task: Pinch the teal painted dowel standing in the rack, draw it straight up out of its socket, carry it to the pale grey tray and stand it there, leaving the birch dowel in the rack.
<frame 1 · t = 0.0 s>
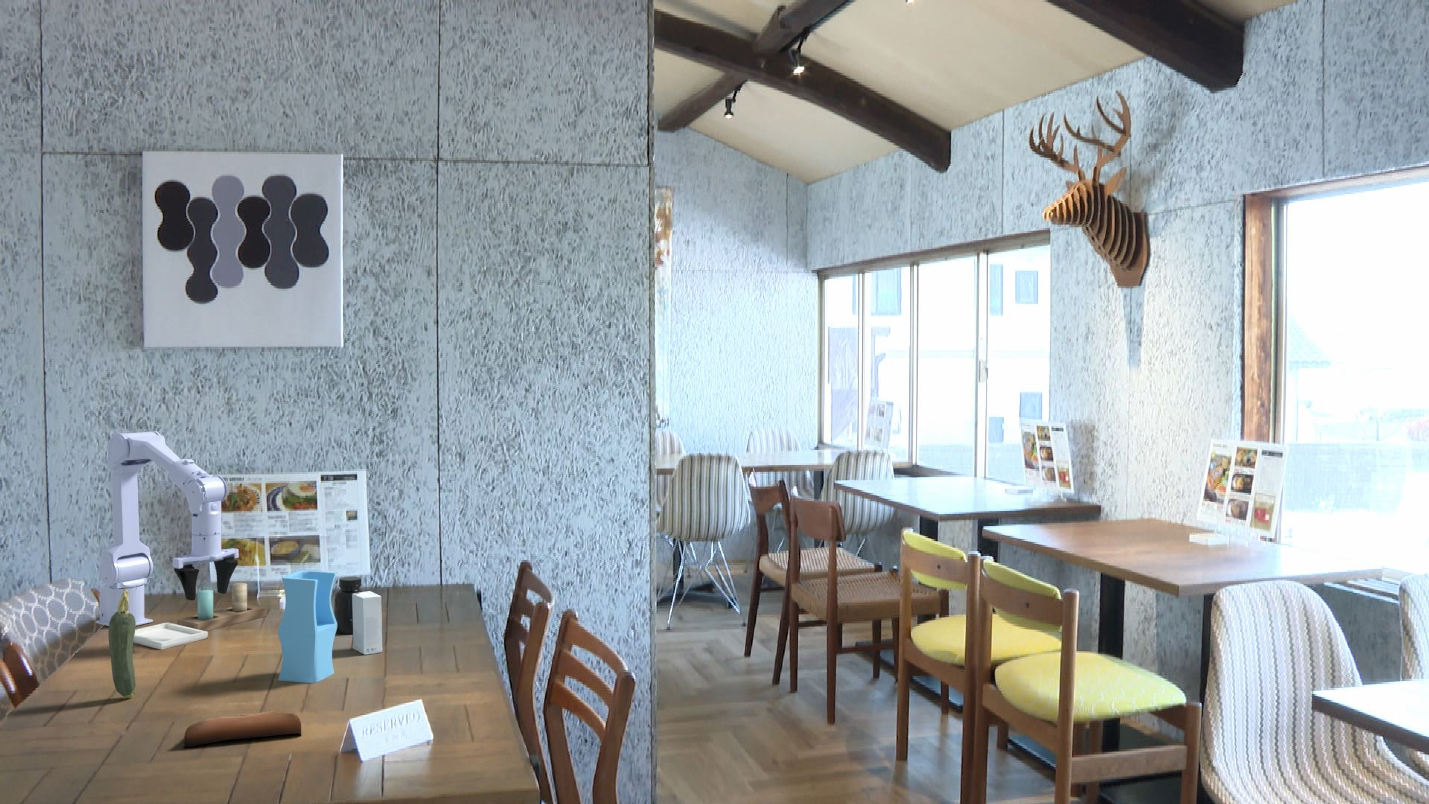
hand: (206, 596, 243), 10 cm above the table, tool pointing down, fingers open, 7 cm apart
birch dowel: (239, 618, 265), resting in rack
vegetable: (122, 700, 206), on the table
teal dowel: (205, 626, 257), resting in rack
sunglasses case: (243, 738, 190), on the table
rack: (222, 622, 261), on the table
vase: (307, 677, 222), on the table
skincare box: (366, 651, 241), on the table
tray: (164, 638, 246), on the table
supplement bottle: (349, 631, 256), on the table
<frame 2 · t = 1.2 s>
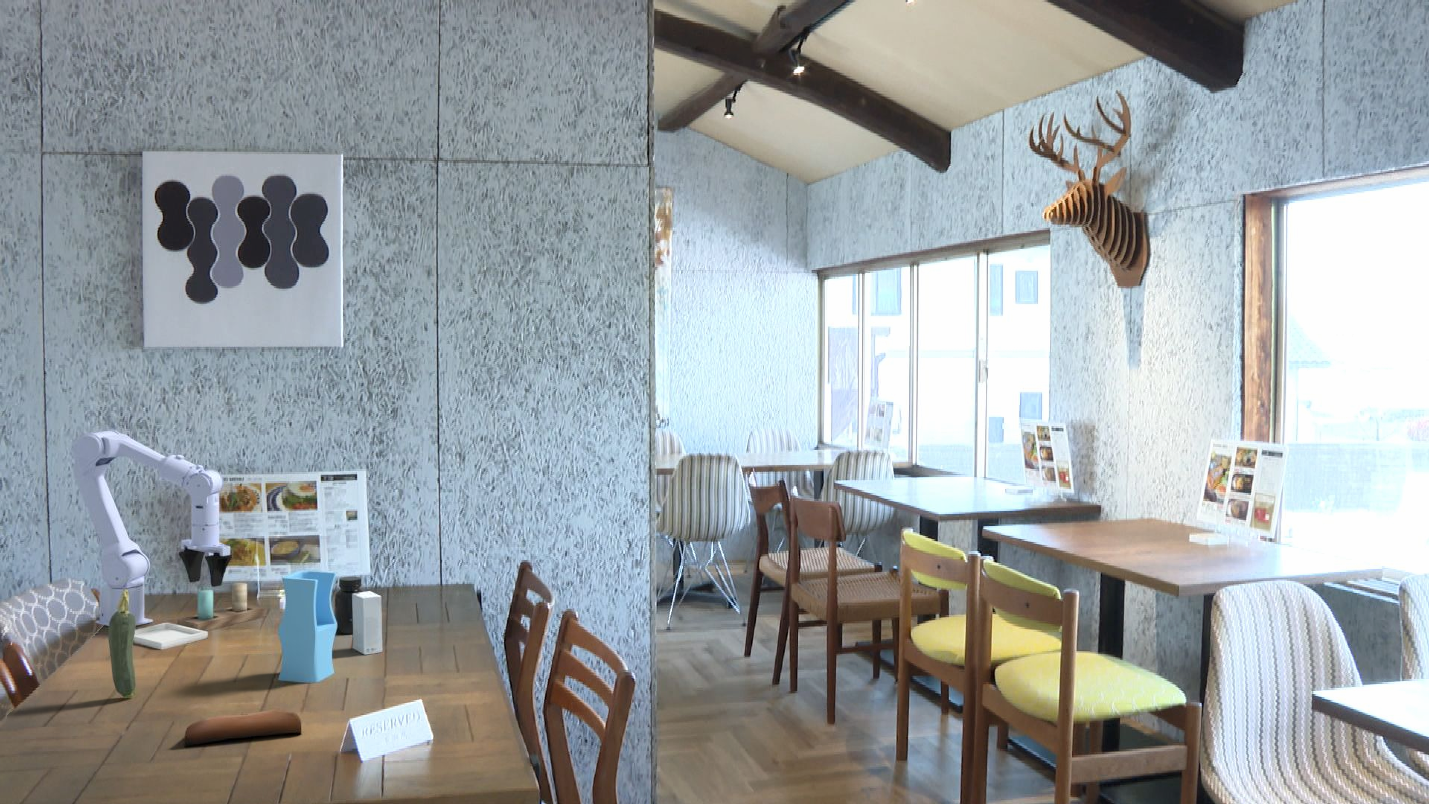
hand: (205, 583, 256), 10 cm above the table, tool pointing down, fingers open, 7 cm apart
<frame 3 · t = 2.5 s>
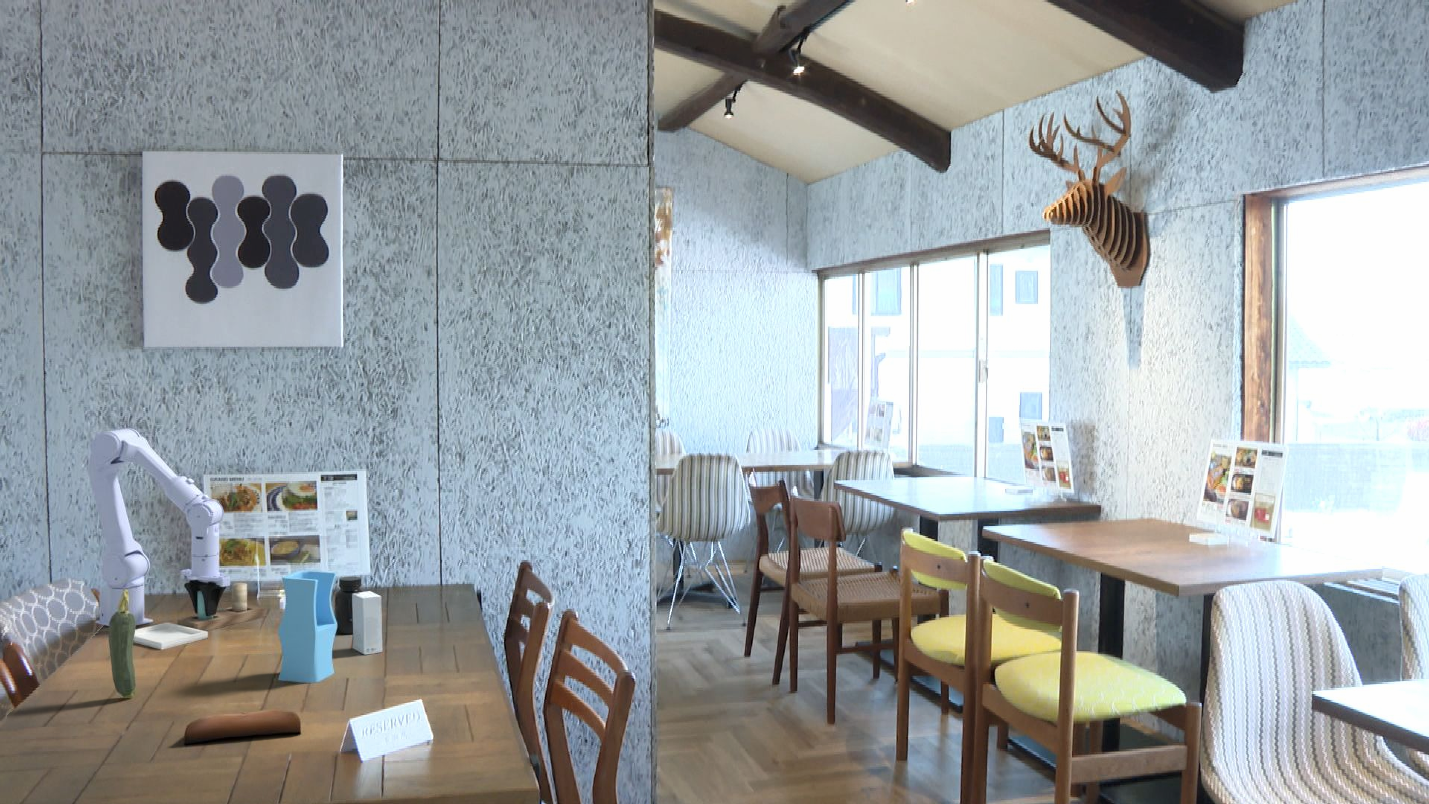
hand: (205, 614, 257), 3 cm above the table, tool pointing down, fingers closed on teal dowel, 3 cm apart
teal dowel: (205, 626, 257), resting in rack, touching gripper
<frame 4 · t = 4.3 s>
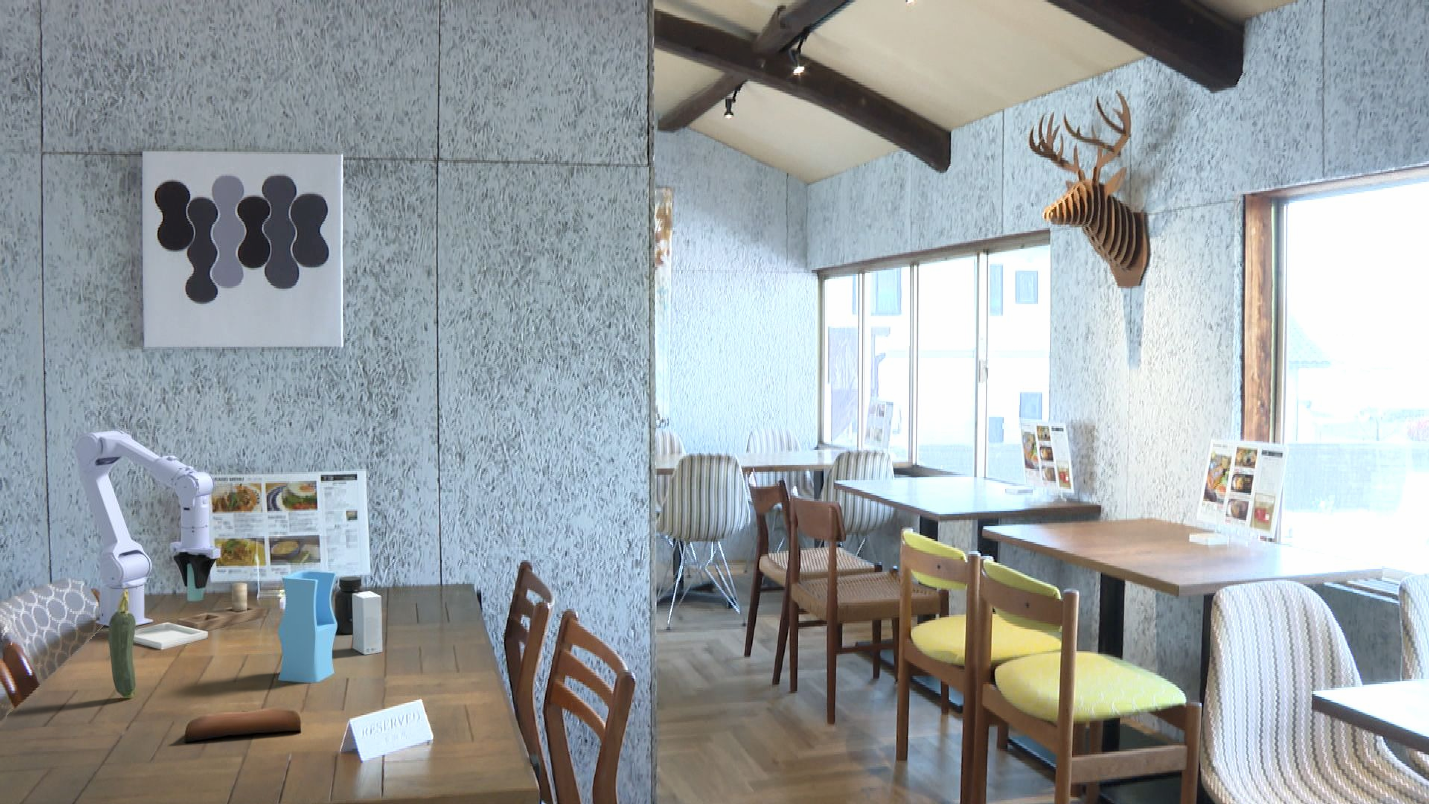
hand: (195, 586, 253), 10 cm above the table, tool pointing down, fingers closed on teal dowel, 3 cm apart
teal dowel: (195, 599, 253), point 7 cm above the table, touching gripper
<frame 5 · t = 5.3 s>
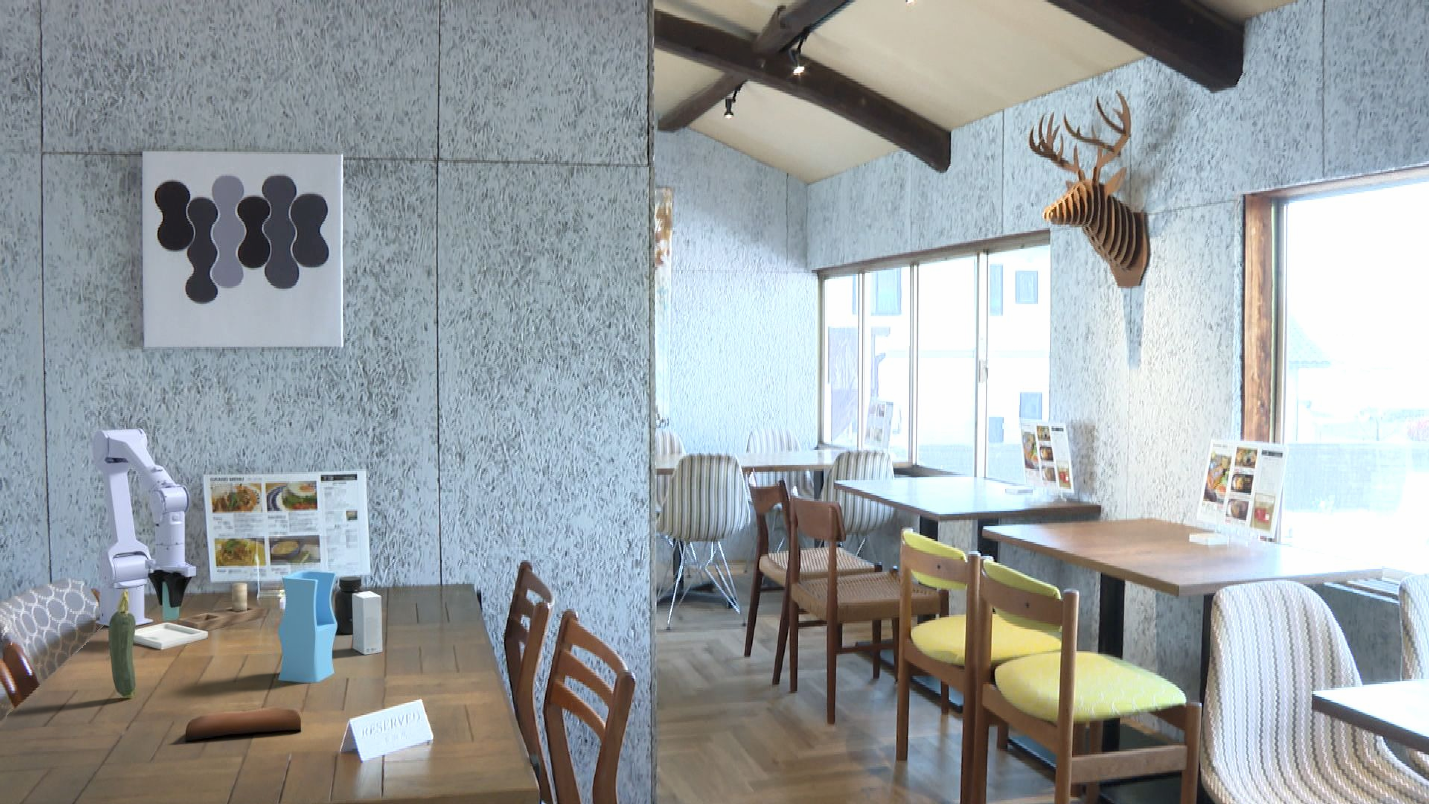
hand: (170, 605, 244), 8 cm above the table, tool pointing down, fingers closed on teal dowel, 3 cm apart
teal dowel: (170, 618, 245), point 5 cm above the table, touching gripper
when the fingers open (4 cm above the table, at t = 6.2 s): teal dowel stays where it is, resting on tray.
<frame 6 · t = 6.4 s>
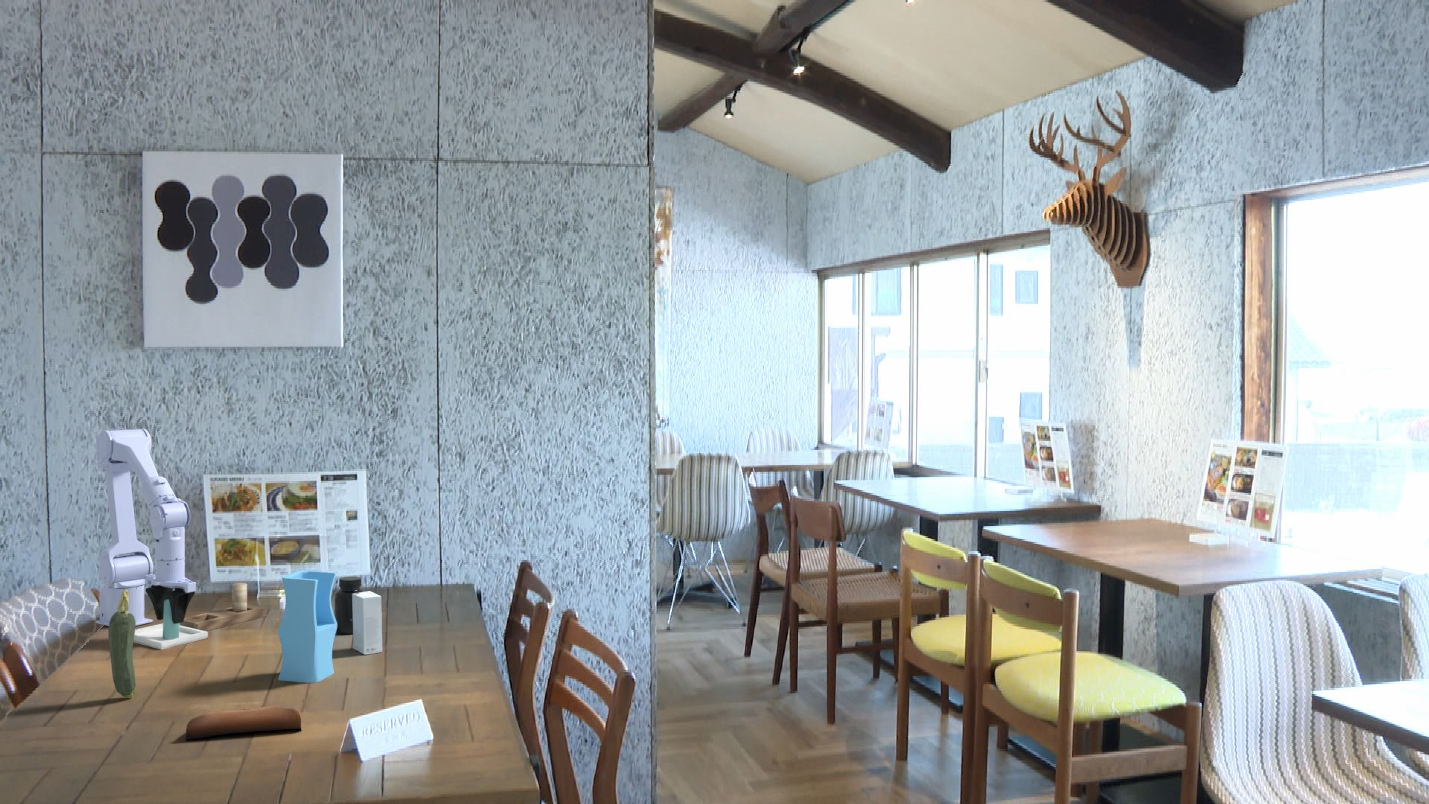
hand: (170, 620, 245), 4 cm above the table, tool pointing down, fingers open, 5 cm apart
teal dowel: (170, 637, 245), point 1 cm above the table, touching tray
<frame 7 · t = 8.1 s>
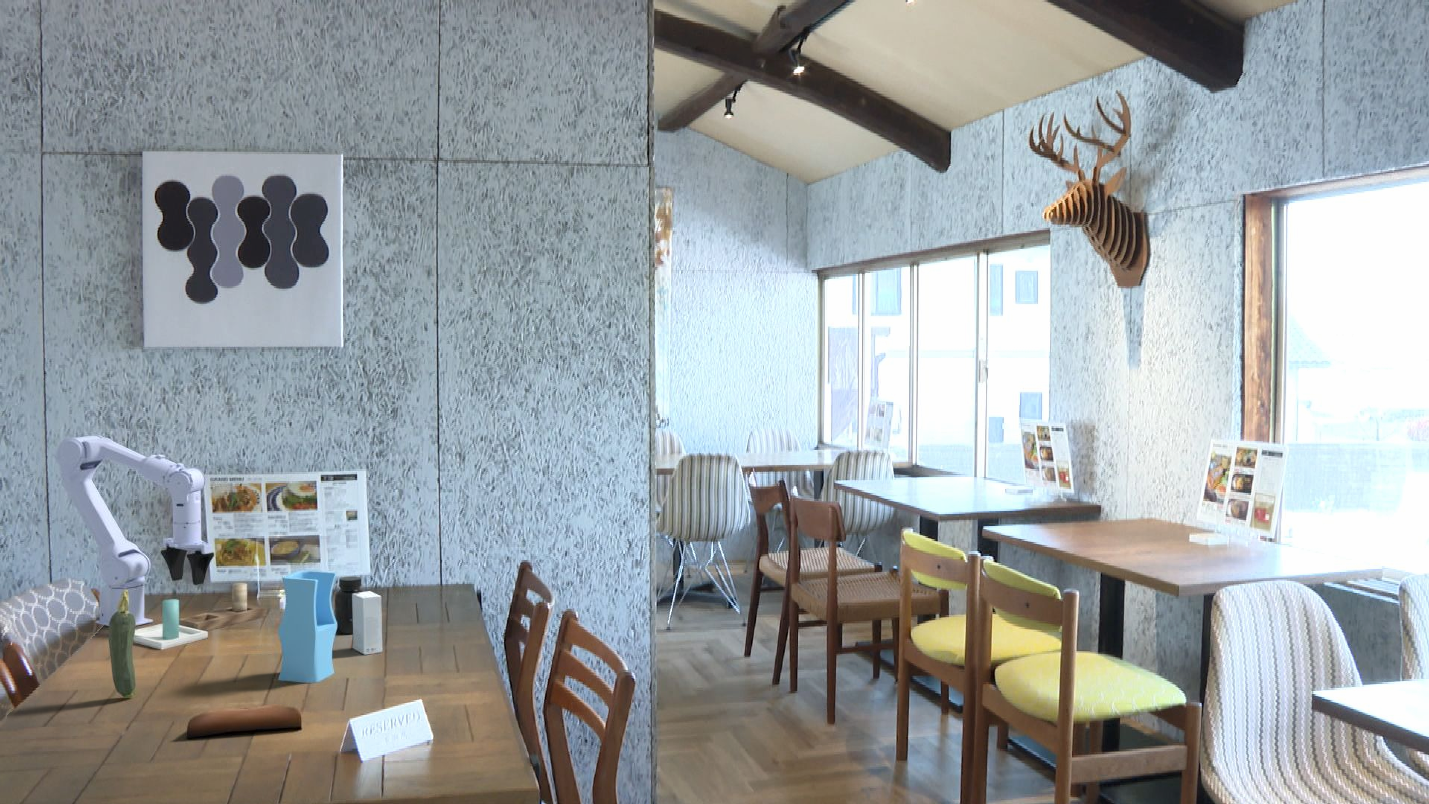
hand: (187, 582, 255), 10 cm above the table, tool pointing down, fingers open, 7 cm apart
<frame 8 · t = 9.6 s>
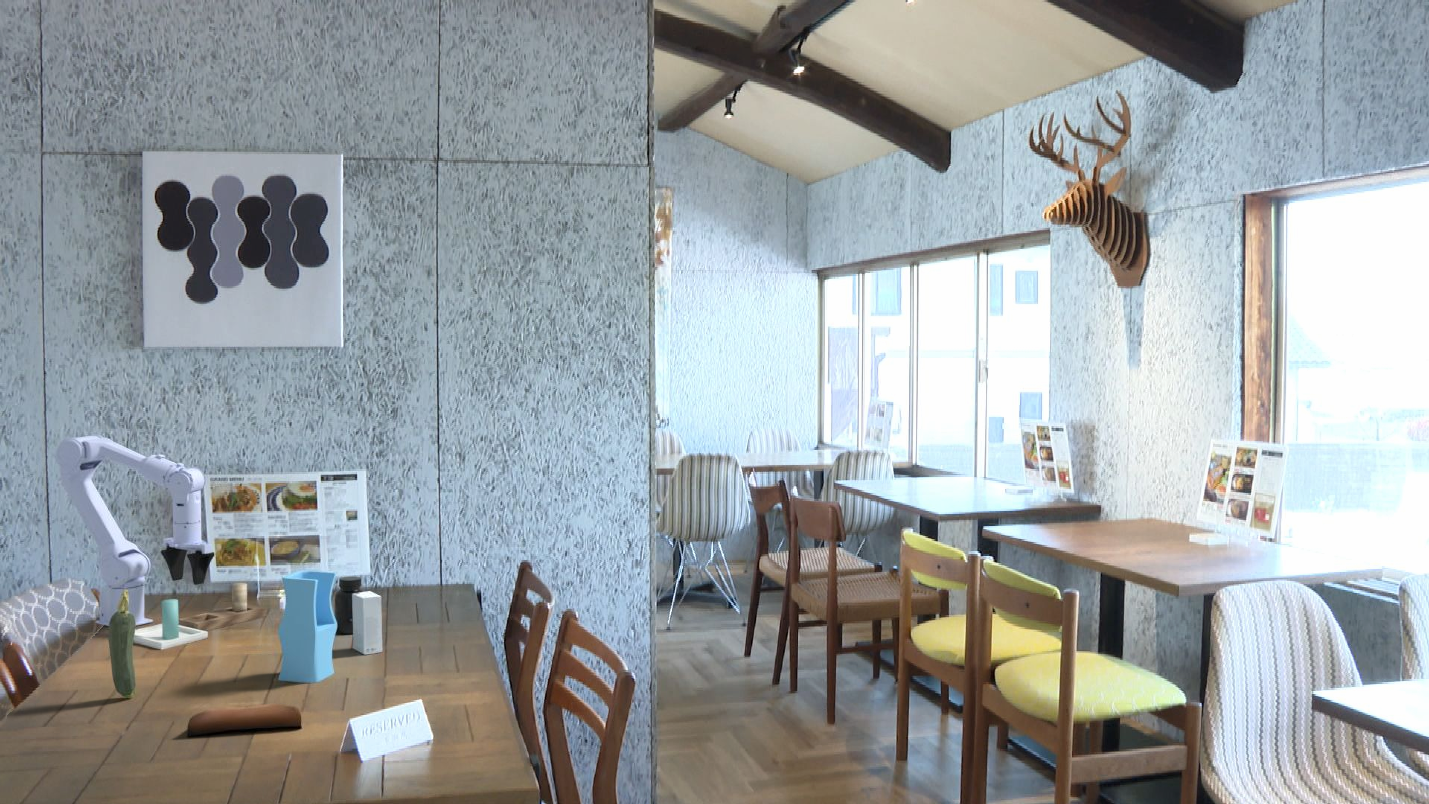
hand: (188, 581, 255), 10 cm above the table, tool pointing down, fingers open, 7 cm apart
at the end: teal dowel inside the target area on the tray (2.0 cm from its centre), point 0.5 cm above the tray's base; teal dowel tilted 1°; the gripper is holding nothing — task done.
